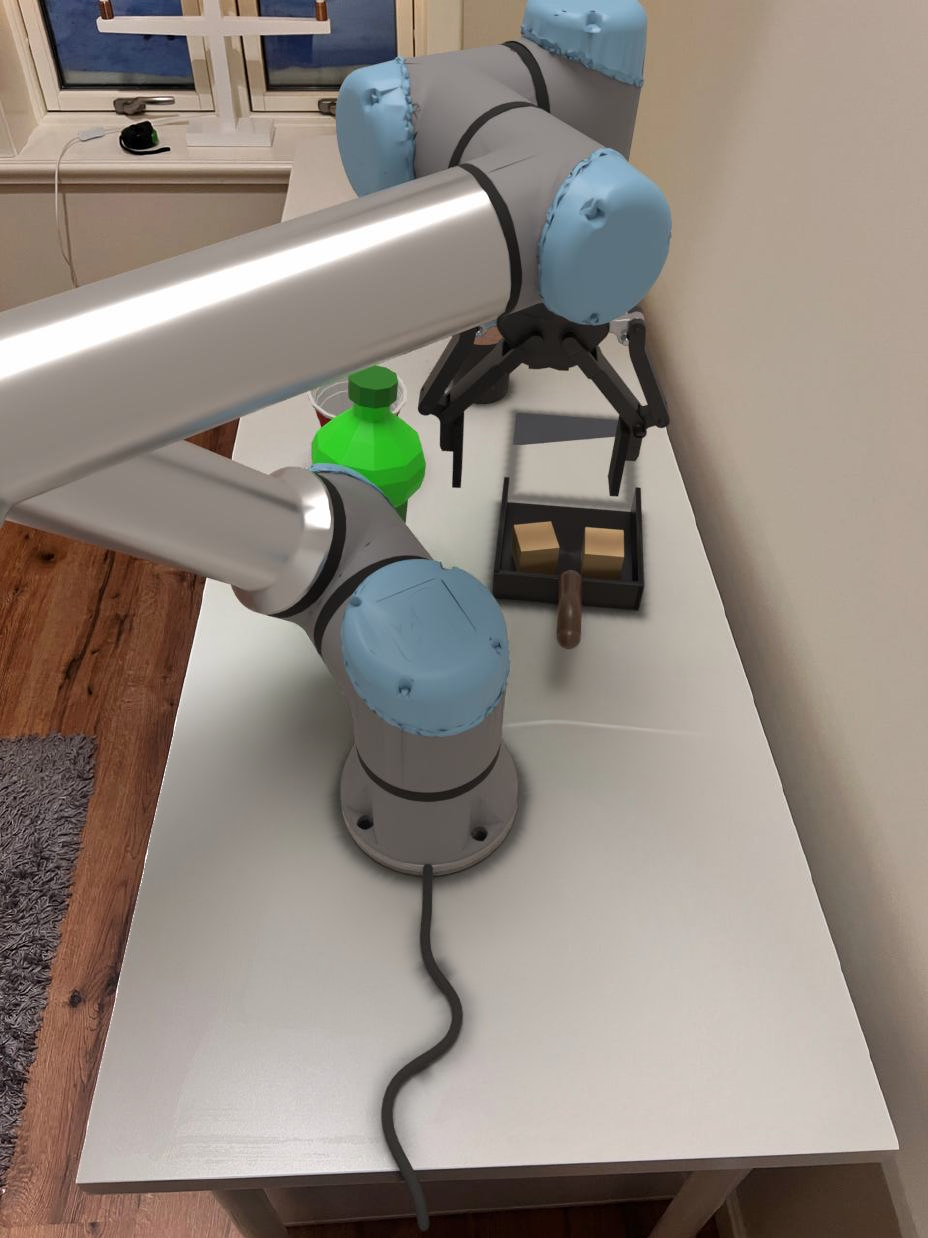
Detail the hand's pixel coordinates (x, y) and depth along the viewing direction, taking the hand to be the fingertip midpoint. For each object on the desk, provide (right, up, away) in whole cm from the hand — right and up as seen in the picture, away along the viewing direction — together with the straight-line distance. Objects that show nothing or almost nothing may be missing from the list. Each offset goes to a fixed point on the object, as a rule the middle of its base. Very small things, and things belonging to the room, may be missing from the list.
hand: (535, 482), depth 83 cm
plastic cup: (-18, +5, +28) cm, 34 cm away
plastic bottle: (-17, -10, +15) cm, 24 cm away
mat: (+7, +7, +31) cm, 32 cm away
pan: (+4, -9, +16) cm, 19 cm away
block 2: (+8, -7, +18) cm, 21 cm away
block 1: (+1, -6, +18) cm, 19 cm away
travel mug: (-4, +18, +40) cm, 44 cm away
